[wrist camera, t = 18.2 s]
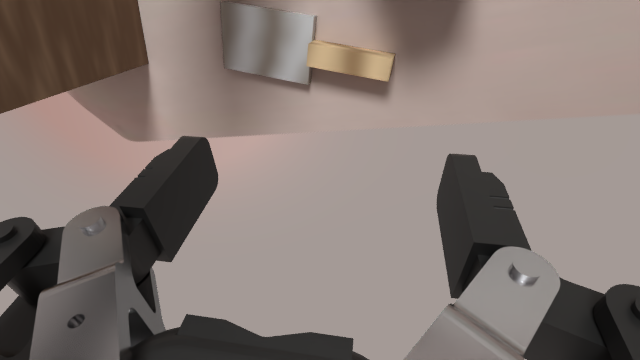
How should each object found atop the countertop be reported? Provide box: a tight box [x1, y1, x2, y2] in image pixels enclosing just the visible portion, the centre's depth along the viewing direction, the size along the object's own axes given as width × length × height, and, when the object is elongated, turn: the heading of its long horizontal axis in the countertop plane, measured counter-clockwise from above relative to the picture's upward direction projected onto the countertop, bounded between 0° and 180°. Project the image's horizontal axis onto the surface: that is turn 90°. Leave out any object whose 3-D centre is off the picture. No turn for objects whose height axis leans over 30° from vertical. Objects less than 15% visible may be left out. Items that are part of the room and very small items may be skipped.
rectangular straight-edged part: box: [220, 1, 395, 85], centre depth 40 cm, size 22×8×3 cm, turn 83°
